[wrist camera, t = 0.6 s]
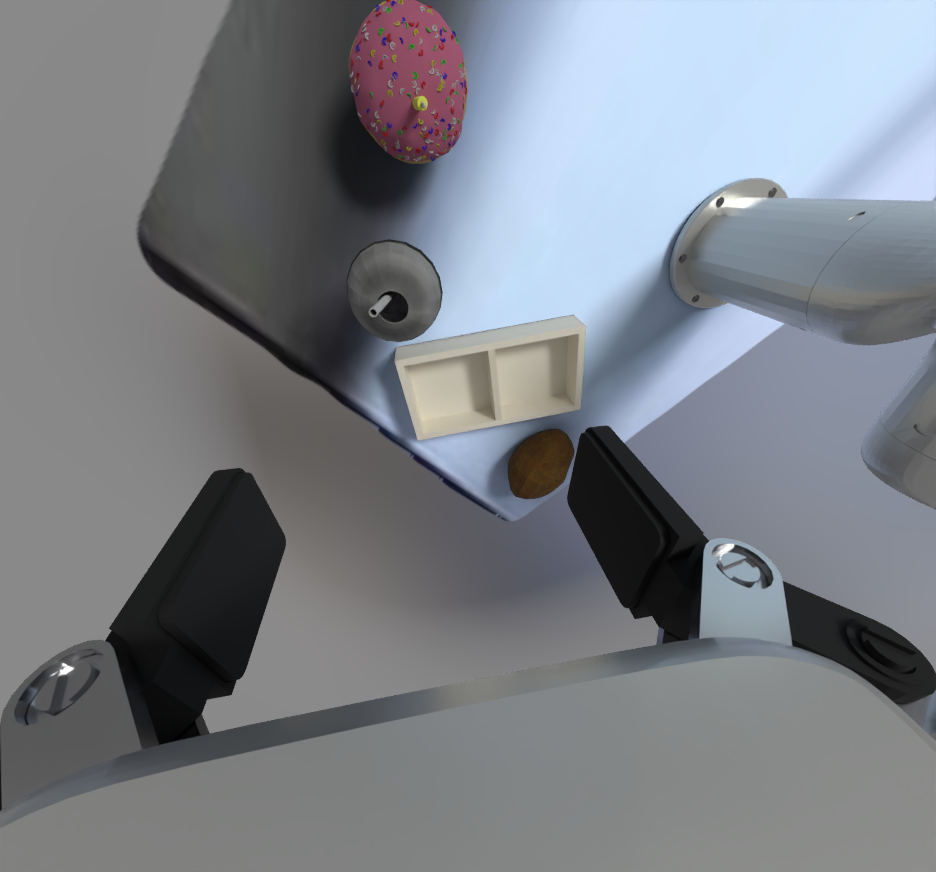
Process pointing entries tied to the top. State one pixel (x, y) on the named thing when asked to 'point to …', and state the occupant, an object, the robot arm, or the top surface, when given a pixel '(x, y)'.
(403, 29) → the cupcake
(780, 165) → the top surface
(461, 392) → the cup carrier
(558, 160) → the top surface
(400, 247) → the beverage cup
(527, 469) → the potato
